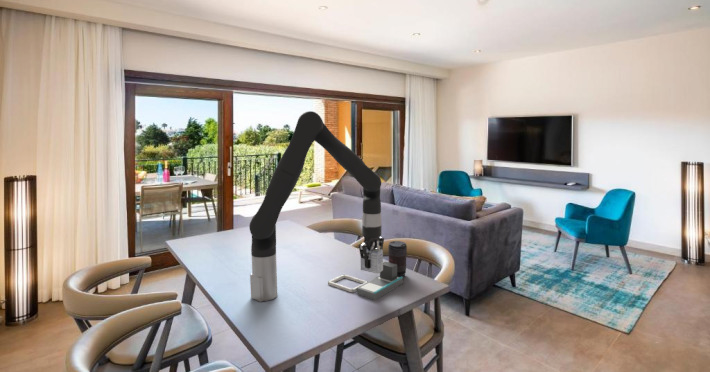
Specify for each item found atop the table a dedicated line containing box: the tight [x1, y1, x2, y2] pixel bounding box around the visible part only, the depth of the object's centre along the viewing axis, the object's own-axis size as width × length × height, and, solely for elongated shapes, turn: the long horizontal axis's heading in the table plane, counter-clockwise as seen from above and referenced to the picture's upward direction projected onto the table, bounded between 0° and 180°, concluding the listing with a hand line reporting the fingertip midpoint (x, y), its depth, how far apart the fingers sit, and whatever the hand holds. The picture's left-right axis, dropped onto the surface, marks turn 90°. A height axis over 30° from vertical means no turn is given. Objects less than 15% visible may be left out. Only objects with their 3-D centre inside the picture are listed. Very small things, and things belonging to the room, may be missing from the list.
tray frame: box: [327, 274, 369, 294], centre depth 154 cm, size 11×14×1 cm
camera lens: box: [387, 240, 408, 278], centre depth 162 cm, size 8×8×15 cm
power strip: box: [356, 261, 404, 301], centre depth 149 cm, size 20×9×9 cm, turn 141°
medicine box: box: [360, 249, 384, 275], centre depth 143 cm, size 8×4×9 cm, turn 57°
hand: (371, 265), depth 144 cm, fingers closed on medicine box, 4 cm apart
